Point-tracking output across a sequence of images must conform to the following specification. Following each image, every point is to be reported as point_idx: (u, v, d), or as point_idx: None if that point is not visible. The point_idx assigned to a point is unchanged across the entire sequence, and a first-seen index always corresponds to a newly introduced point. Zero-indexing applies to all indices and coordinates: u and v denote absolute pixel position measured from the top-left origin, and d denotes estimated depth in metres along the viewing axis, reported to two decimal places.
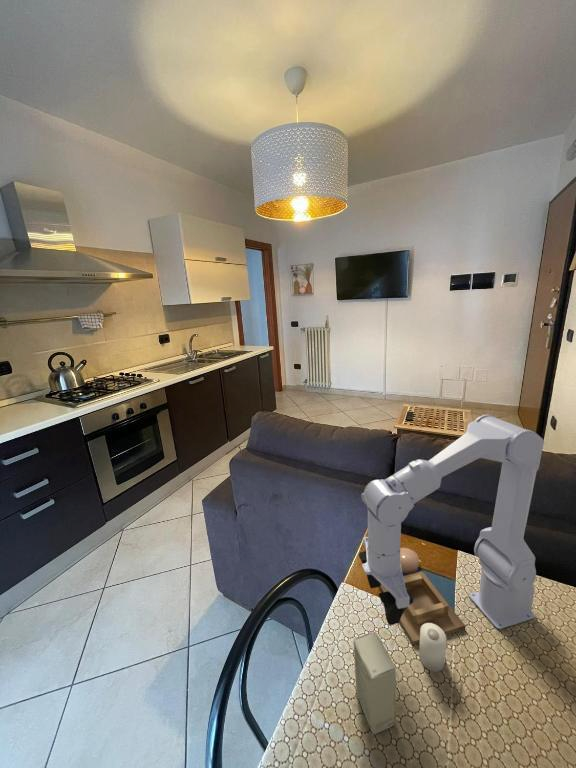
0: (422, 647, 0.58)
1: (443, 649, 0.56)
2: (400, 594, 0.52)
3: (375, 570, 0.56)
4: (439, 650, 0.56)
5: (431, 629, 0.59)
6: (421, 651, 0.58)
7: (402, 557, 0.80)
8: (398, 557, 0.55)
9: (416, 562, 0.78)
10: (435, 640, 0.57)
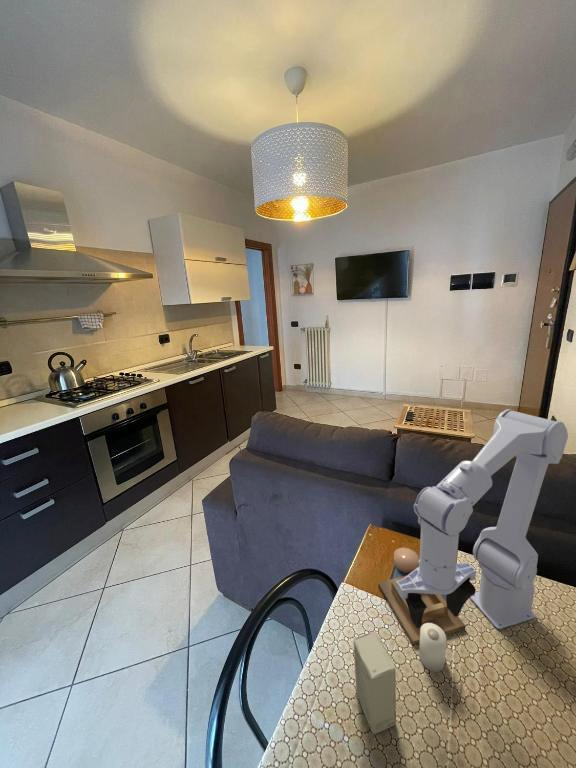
0: (422, 647, 0.58)
1: (443, 649, 0.56)
2: (403, 584, 0.54)
3: None
4: (439, 650, 0.56)
5: (431, 629, 0.59)
6: (421, 651, 0.58)
7: (402, 557, 0.80)
8: (431, 571, 0.52)
9: (416, 562, 0.78)
10: (435, 640, 0.57)
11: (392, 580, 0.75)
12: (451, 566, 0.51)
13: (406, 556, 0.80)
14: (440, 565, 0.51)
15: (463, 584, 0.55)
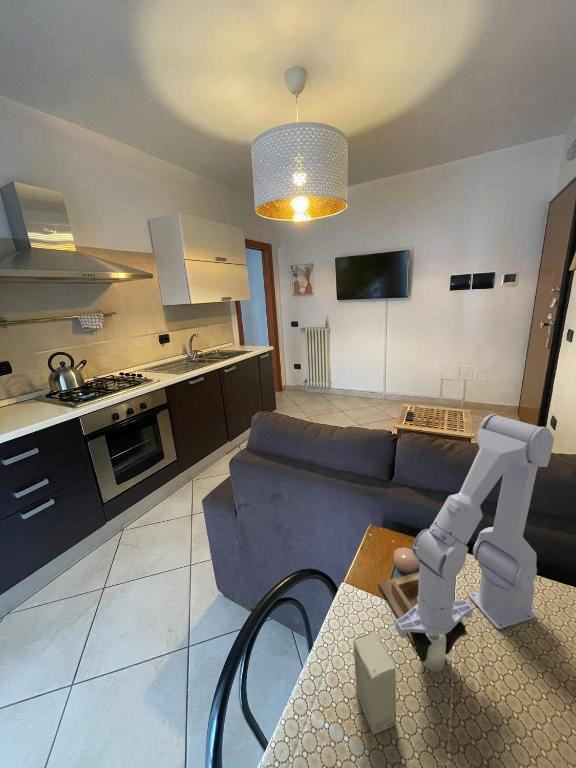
0: None
1: (443, 649, 0.56)
2: (402, 623, 0.56)
3: None
4: (439, 650, 0.56)
5: None
6: None
7: (402, 557, 0.80)
8: (429, 611, 0.54)
9: None
10: (435, 640, 0.57)
11: (392, 580, 0.75)
12: (448, 607, 0.53)
13: (406, 556, 0.80)
14: (437, 606, 0.53)
15: (460, 622, 0.57)
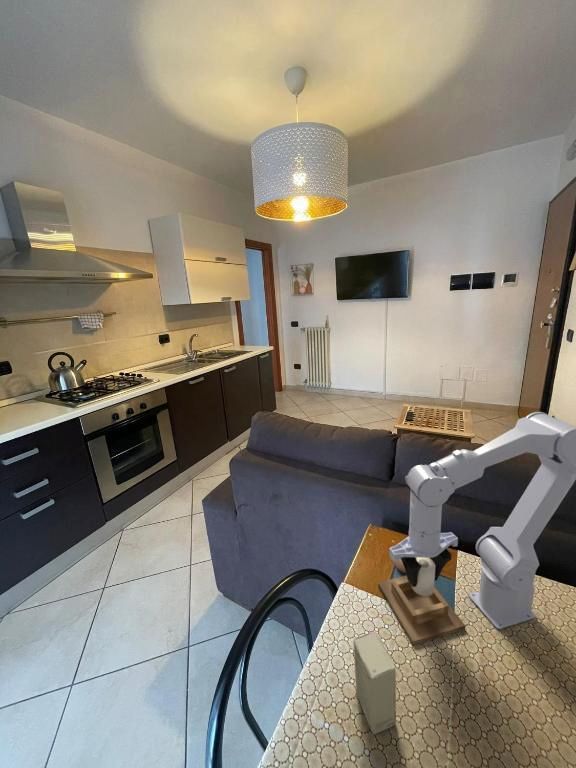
0: None
1: (432, 575, 0.62)
2: (395, 550, 0.62)
3: None
4: (429, 575, 0.62)
5: (422, 559, 0.65)
6: None
7: None
8: (419, 537, 0.60)
9: None
10: (425, 568, 0.63)
11: (392, 580, 0.75)
12: (435, 532, 0.59)
13: None
14: (419, 530, 0.60)
15: (447, 550, 0.63)
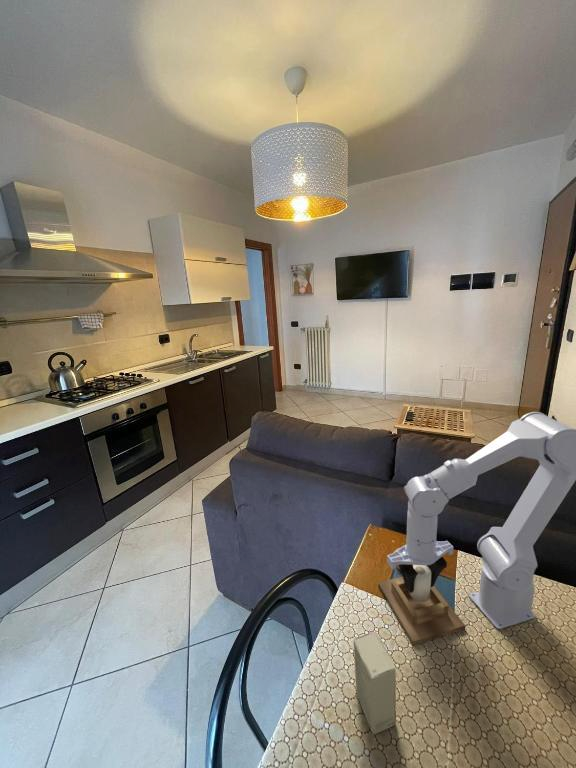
0: None
1: (428, 582, 0.65)
2: (393, 557, 0.65)
3: None
4: (425, 582, 0.65)
5: (419, 566, 0.68)
6: None
7: None
8: (415, 545, 0.63)
9: None
10: (421, 574, 0.66)
11: (392, 580, 0.75)
12: (431, 541, 0.62)
13: None
14: (414, 538, 0.63)
15: (442, 558, 0.66)
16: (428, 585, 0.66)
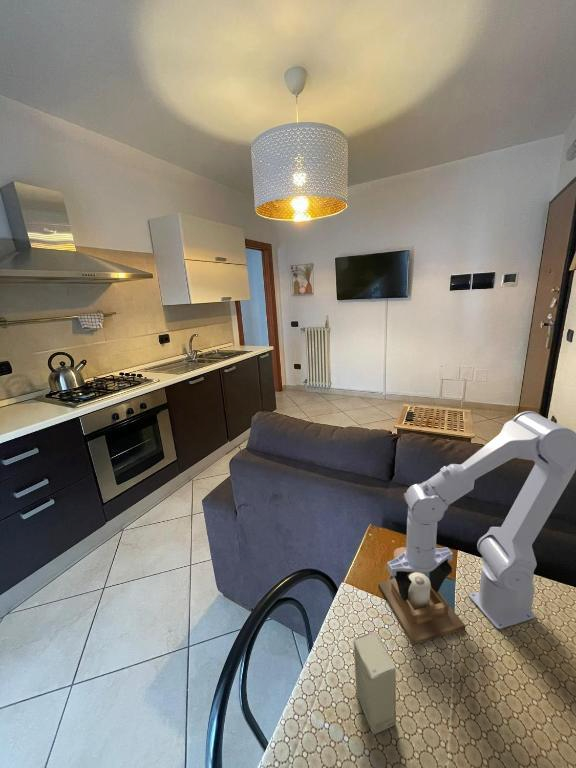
0: (410, 591, 0.68)
1: (427, 592, 0.66)
2: (393, 564, 0.65)
3: None
4: (424, 592, 0.66)
5: (418, 576, 0.69)
6: (409, 595, 0.69)
7: None
8: (415, 553, 0.64)
9: None
10: (421, 585, 0.67)
11: (392, 580, 0.75)
12: (431, 549, 0.63)
13: None
14: (414, 545, 0.63)
15: (442, 564, 0.67)
16: (427, 595, 0.66)
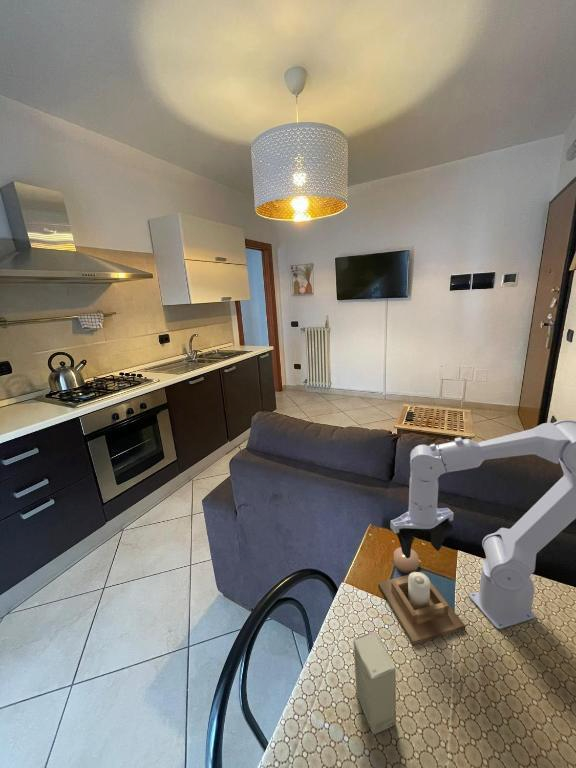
0: (409, 590, 0.68)
1: (427, 591, 0.66)
2: (396, 522, 0.68)
3: None
4: (423, 591, 0.66)
5: (417, 576, 0.69)
6: (409, 594, 0.69)
7: (401, 554, 0.81)
8: (417, 510, 0.66)
9: (410, 565, 0.77)
10: (420, 584, 0.67)
11: (392, 580, 0.75)
12: (433, 505, 0.65)
13: None
14: (413, 501, 0.67)
15: (443, 523, 0.69)
16: (427, 595, 0.66)
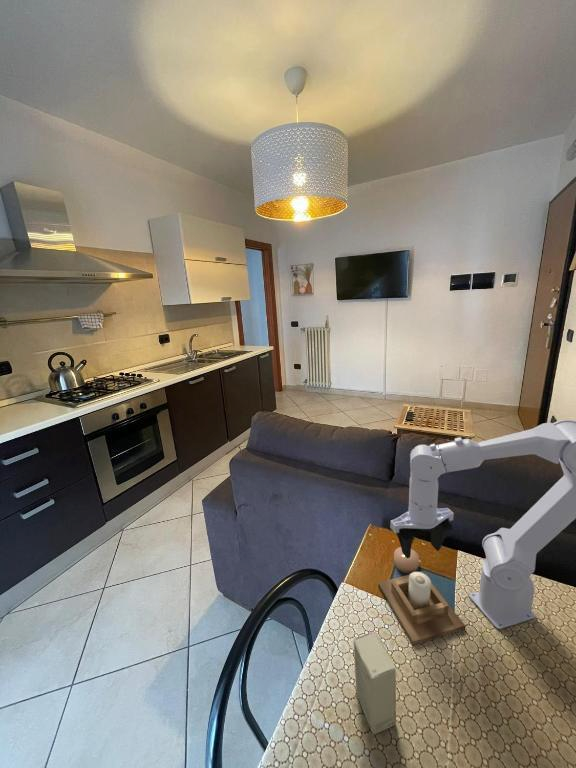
0: (410, 589, 0.68)
1: (427, 591, 0.66)
2: (396, 522, 0.68)
3: None
4: (424, 591, 0.66)
5: (418, 576, 0.69)
6: (409, 594, 0.69)
7: (402, 553, 0.81)
8: (417, 510, 0.66)
9: (407, 565, 0.78)
10: (421, 584, 0.67)
11: (392, 580, 0.75)
12: (433, 505, 0.65)
13: None
14: (413, 500, 0.67)
15: (443, 523, 0.70)
16: (427, 595, 0.66)
